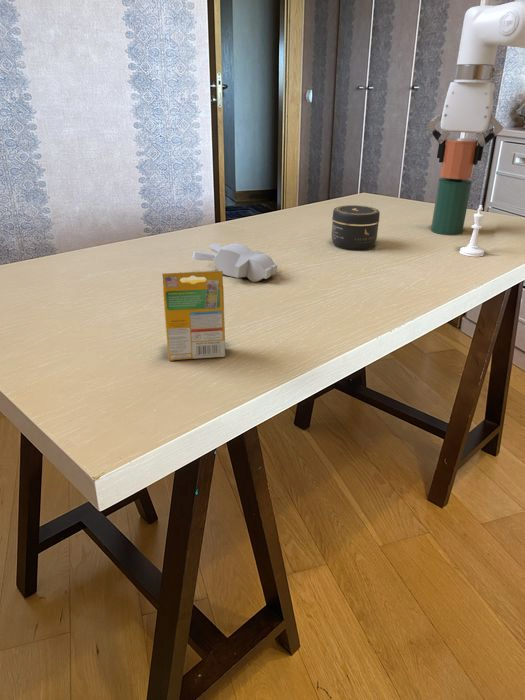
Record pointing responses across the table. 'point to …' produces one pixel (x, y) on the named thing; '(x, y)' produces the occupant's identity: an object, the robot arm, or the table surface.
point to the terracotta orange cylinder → (458, 158)
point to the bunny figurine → (239, 261)
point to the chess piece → (474, 237)
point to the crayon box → (194, 315)
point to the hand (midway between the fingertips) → (458, 162)
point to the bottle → (450, 206)
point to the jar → (355, 227)
